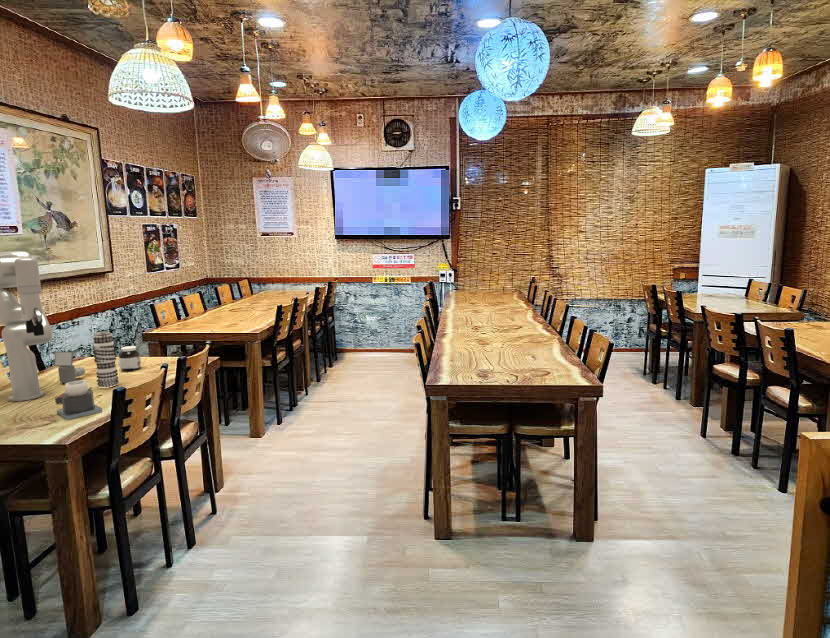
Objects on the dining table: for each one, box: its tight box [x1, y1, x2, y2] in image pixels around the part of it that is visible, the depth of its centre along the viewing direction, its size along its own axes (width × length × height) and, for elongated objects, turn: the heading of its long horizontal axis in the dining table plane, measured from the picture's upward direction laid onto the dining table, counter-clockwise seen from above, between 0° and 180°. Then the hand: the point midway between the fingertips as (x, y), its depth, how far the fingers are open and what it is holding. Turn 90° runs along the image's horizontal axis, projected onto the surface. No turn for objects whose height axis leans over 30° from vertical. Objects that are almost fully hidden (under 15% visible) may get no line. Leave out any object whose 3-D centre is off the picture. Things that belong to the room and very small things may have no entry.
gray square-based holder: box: [56, 390, 103, 421], centre depth 214 cm, size 12×12×8 cm
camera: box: [53, 351, 86, 384], centre depth 261 cm, size 9×12×15 cm
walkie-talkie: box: [55, 386, 93, 405], centre depth 235 cm, size 9×4×20 cm
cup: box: [64, 379, 89, 397], centre depth 213 cm, size 7×7×8 cm
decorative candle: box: [92, 330, 120, 388], centre depth 250 cm, size 9×9×25 cm
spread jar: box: [117, 345, 142, 372], centre depth 282 cm, size 12×11×12 cm
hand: (35, 333), depth 216 cm, fingers open, 9 cm apart
